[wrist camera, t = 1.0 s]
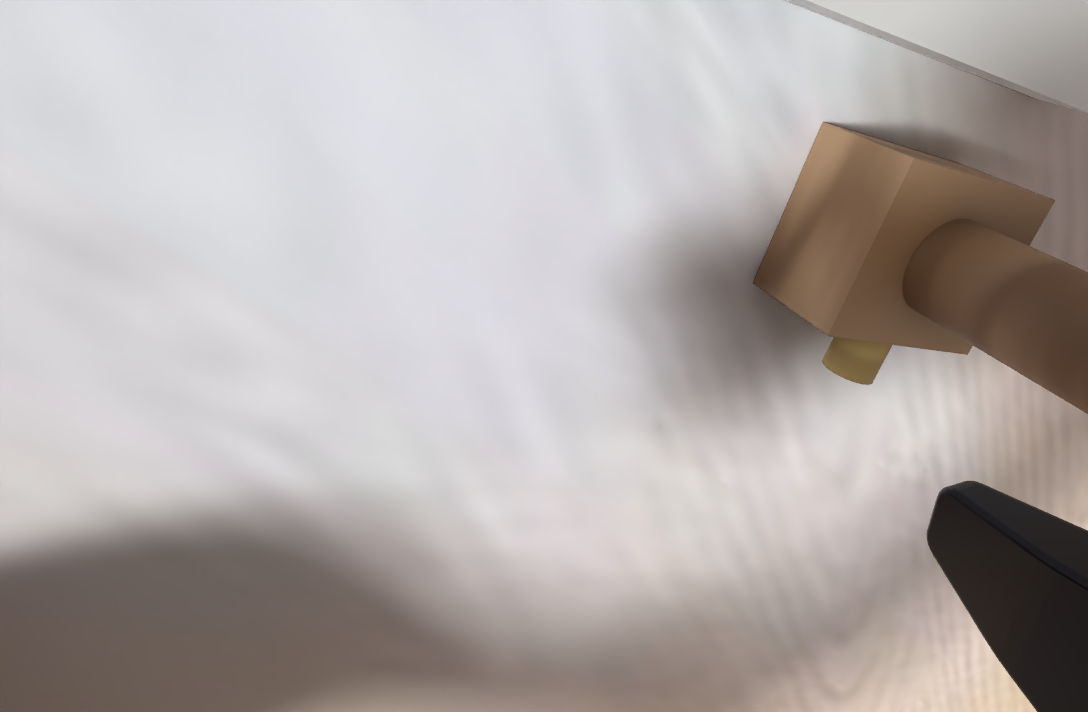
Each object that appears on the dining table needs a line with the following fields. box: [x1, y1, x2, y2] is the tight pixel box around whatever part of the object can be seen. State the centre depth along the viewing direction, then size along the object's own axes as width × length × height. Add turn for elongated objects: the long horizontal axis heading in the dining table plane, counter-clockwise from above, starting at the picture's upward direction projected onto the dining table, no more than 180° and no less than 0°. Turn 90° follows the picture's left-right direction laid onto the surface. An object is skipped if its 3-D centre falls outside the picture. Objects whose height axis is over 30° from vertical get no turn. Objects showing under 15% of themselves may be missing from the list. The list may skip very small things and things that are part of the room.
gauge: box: [753, 122, 1088, 414], centre depth 21 cm, size 7×6×13 cm
